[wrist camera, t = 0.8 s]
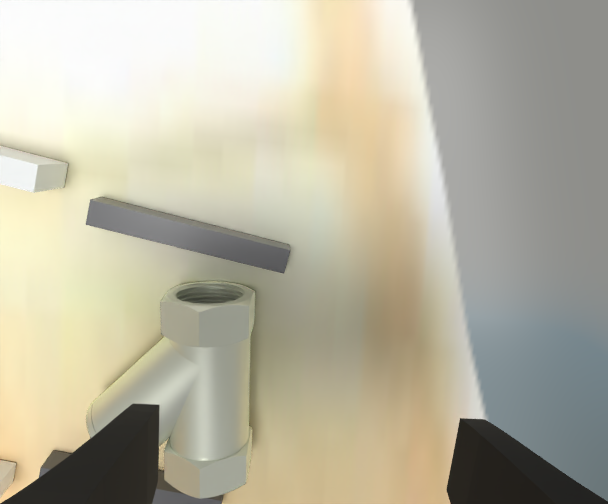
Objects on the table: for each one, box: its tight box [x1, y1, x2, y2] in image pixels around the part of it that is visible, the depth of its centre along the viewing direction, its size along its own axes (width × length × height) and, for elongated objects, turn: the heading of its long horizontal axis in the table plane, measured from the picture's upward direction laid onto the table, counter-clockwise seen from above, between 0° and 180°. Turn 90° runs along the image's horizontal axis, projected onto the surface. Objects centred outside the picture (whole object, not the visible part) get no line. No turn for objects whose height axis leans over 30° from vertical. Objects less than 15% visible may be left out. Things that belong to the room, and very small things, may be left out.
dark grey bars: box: [39, 197, 290, 504], centre depth 20 cm, size 13×8×1 cm, turn 165°
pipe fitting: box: [86, 281, 255, 499], centre depth 19 cm, size 8×4×7 cm
